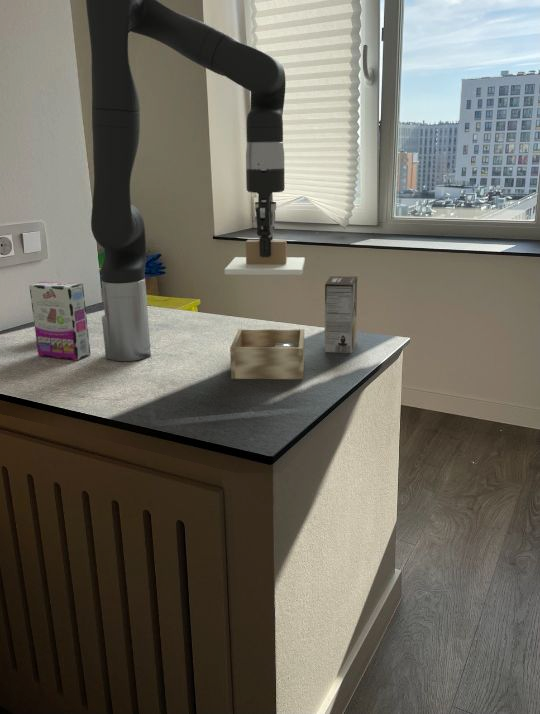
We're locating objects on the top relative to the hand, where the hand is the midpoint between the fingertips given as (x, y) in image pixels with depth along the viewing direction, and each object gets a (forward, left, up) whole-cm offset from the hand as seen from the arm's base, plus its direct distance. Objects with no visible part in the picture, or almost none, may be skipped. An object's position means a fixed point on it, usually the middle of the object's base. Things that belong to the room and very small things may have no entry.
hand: (266, 254), depth 131 cm
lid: (0, 0, -3) cm, 3 cm away
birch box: (+1, -6, -23) cm, 24 cm away
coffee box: (+16, +9, -23) cm, 29 cm away
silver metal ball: (+4, -3, -22) cm, 23 cm away
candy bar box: (-46, +4, -23) cm, 52 cm away
